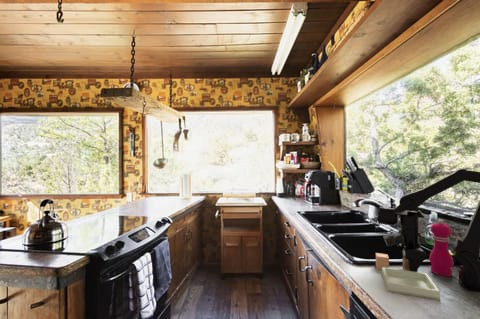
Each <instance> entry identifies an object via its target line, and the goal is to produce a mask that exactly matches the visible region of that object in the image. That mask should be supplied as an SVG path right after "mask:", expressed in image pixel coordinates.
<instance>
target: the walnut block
mask: <svg viewBox="0 0 480 319" xmlns="http://www.w3.org/2000/svg"><path fill="white" fill-rule="evenodd" d="M401 259H402V260H401V261H402V270H407V271H410V268H409V263H408V260H407V259H406V258H405V257H403V256H402V258H401ZM416 272H419V269H418V270H417V271H416Z"/></svg>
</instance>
